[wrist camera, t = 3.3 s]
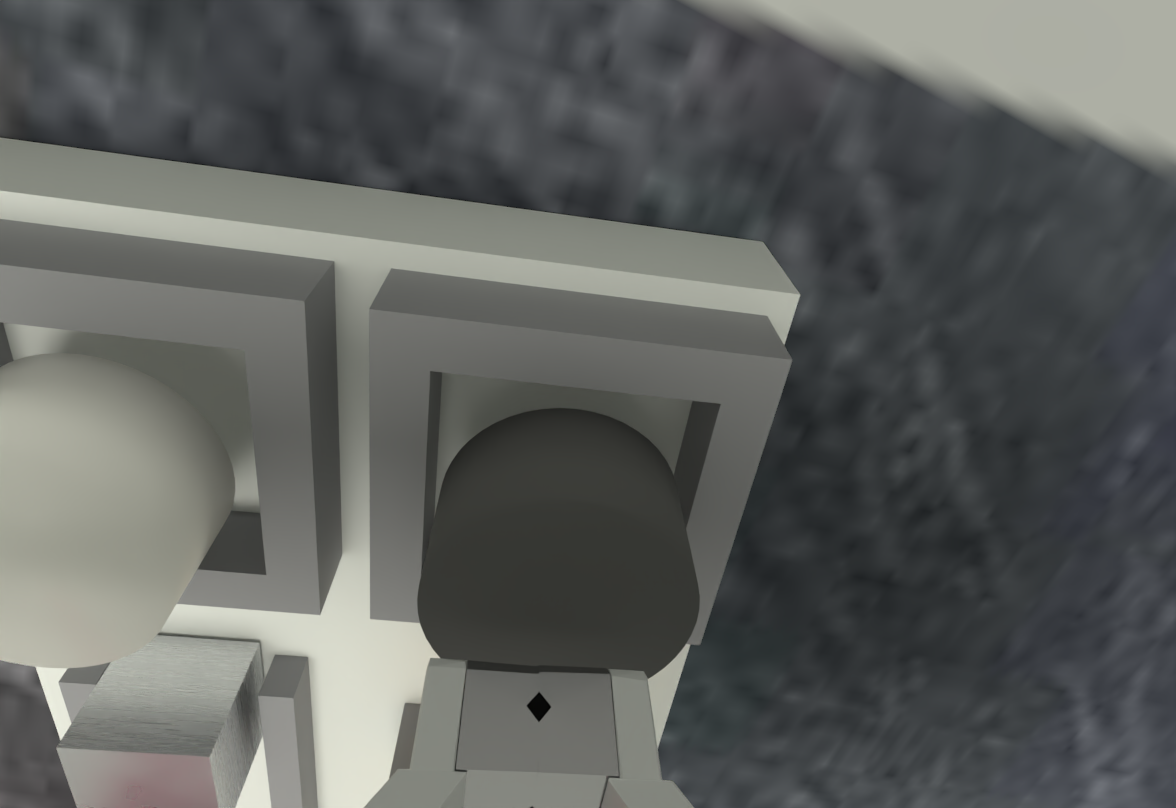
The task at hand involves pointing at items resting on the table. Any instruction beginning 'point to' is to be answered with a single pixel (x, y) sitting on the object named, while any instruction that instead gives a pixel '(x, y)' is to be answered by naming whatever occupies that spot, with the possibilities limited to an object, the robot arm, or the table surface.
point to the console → (377, 400)
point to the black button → (559, 548)
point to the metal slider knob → (168, 727)
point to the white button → (99, 507)
